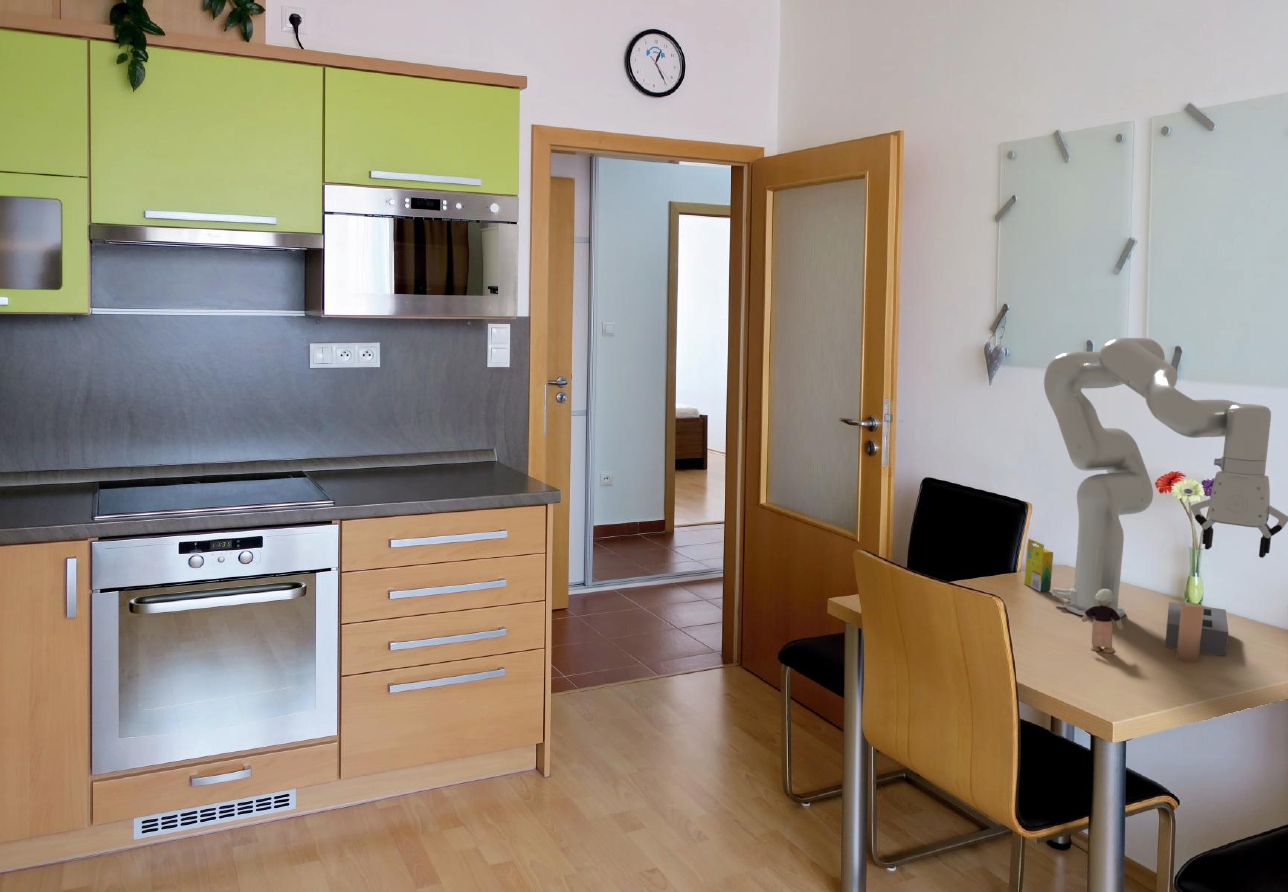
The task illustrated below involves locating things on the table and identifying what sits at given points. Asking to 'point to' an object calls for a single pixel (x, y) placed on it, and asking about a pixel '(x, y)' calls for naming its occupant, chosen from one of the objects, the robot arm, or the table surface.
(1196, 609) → the terracotta peg
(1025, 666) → the table surface
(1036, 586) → the crayon box
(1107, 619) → the grandmother figurine
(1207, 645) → the socket block
